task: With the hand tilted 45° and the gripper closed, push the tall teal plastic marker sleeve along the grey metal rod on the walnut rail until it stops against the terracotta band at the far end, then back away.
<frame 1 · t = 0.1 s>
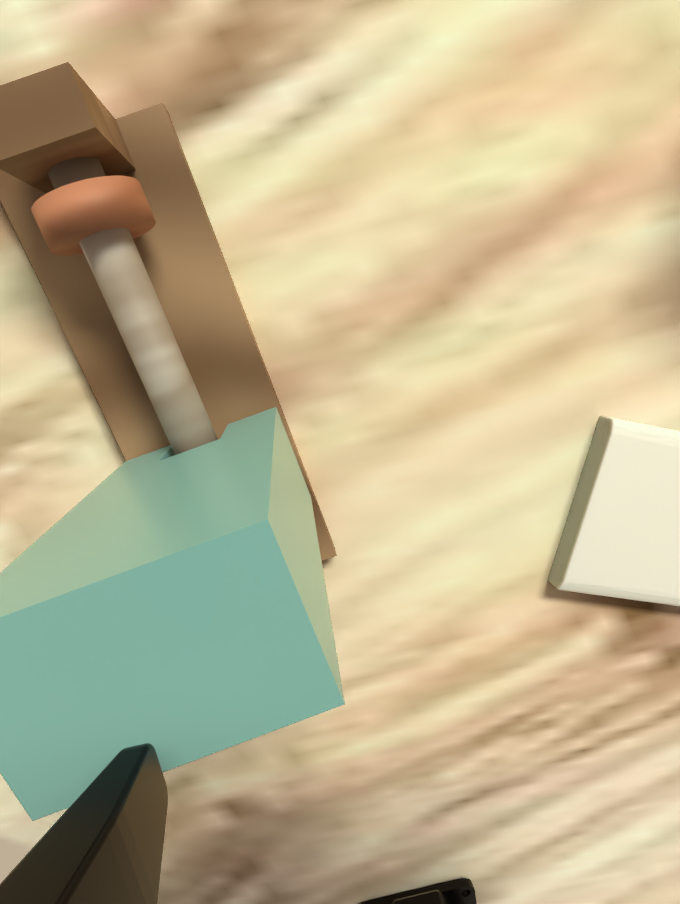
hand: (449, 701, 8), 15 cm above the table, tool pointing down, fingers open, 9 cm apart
external hard drive: (679, 516, 25), on the table
cord rail: (185, 382, 21), on the table
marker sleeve: (197, 540, 15), point 7 cm above the table, slide at 0.0 cm
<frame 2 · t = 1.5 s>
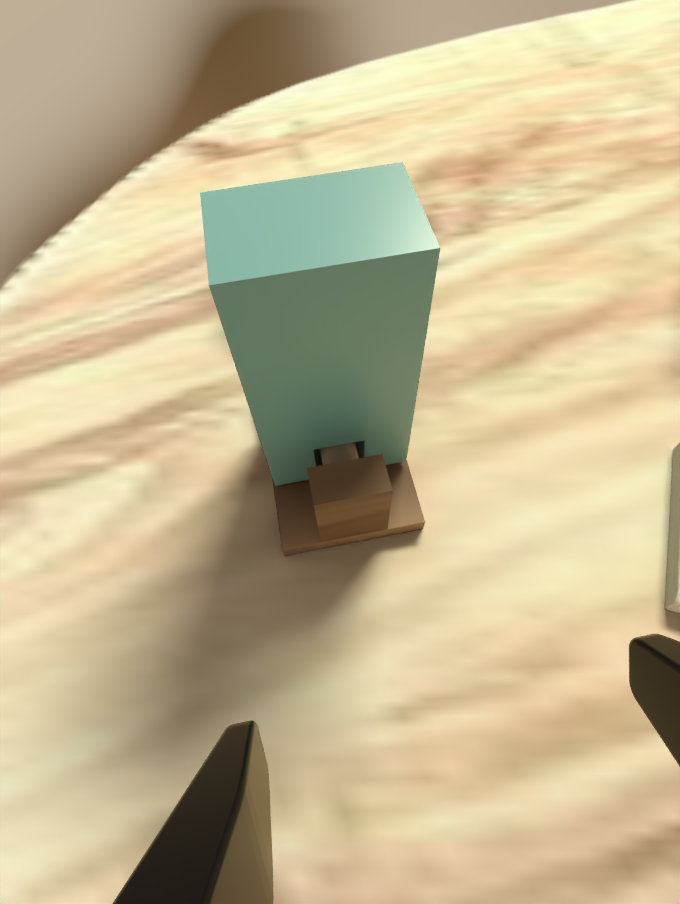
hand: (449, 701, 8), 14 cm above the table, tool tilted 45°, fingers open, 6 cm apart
cord rail: (320, 386, 28), on the table
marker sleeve: (326, 356, 20), point 7 cm above the table, slide at 0.0 cm
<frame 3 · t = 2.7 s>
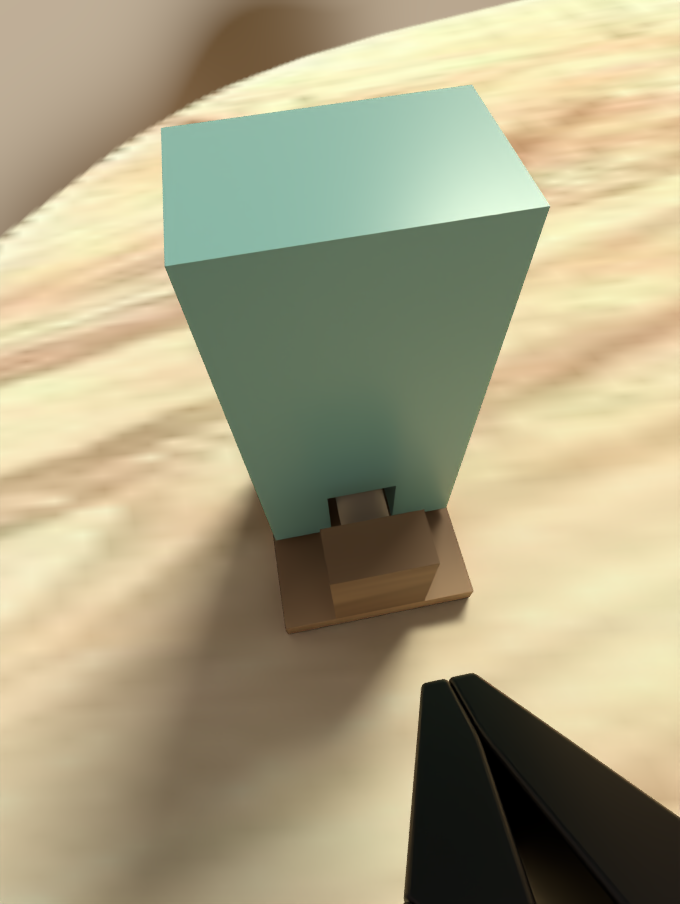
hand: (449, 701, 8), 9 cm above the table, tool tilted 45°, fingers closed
cord rail: (333, 407, 22), on the table
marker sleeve: (346, 375, 14), point 7 cm above the table, slide at 0.0 cm
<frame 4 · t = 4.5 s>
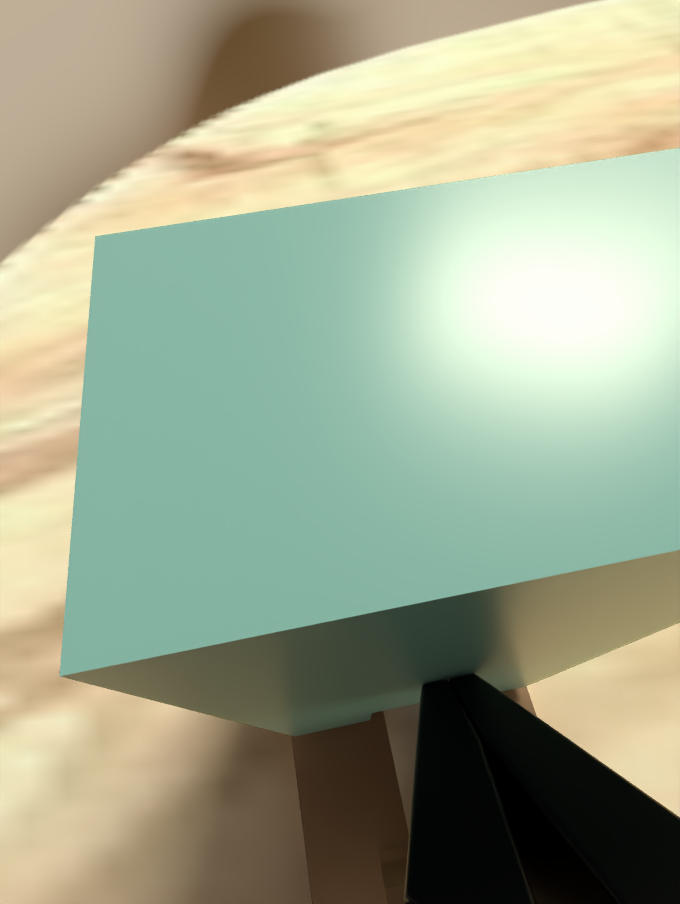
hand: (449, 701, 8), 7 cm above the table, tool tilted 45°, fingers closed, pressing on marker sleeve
cord rail: (371, 555, 17), on the table
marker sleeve: (410, 565, 9), point 7 cm above the table, slide at 1.3 cm, touching gripper
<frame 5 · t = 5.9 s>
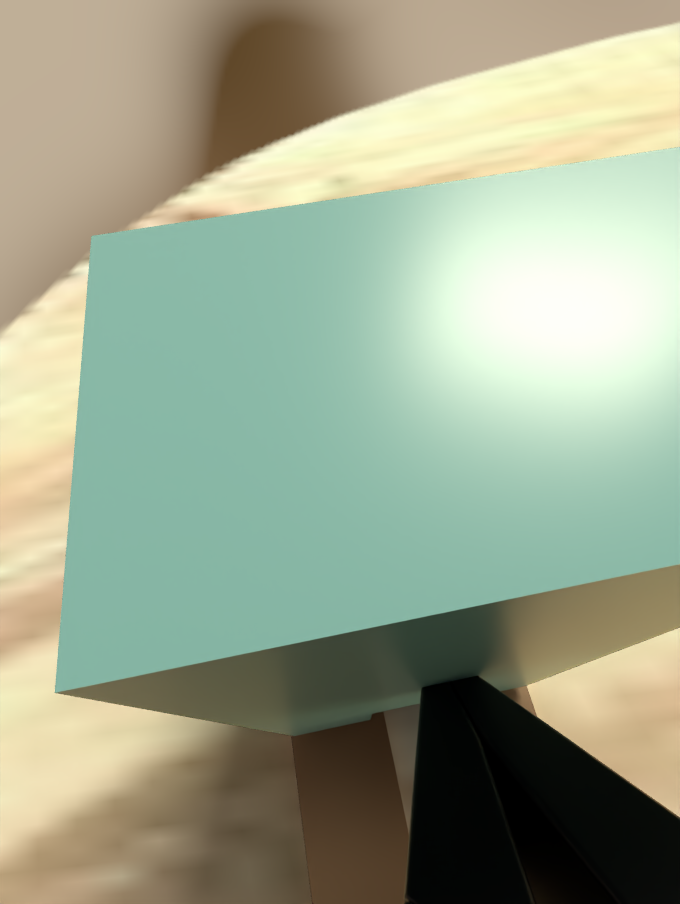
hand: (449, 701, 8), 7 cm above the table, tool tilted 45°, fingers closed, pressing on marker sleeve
cord rail: (420, 766, 14), on the table
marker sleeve: (411, 567, 9), point 7 cm above the table, slide at 7.3 cm, touching cord rail, gripper
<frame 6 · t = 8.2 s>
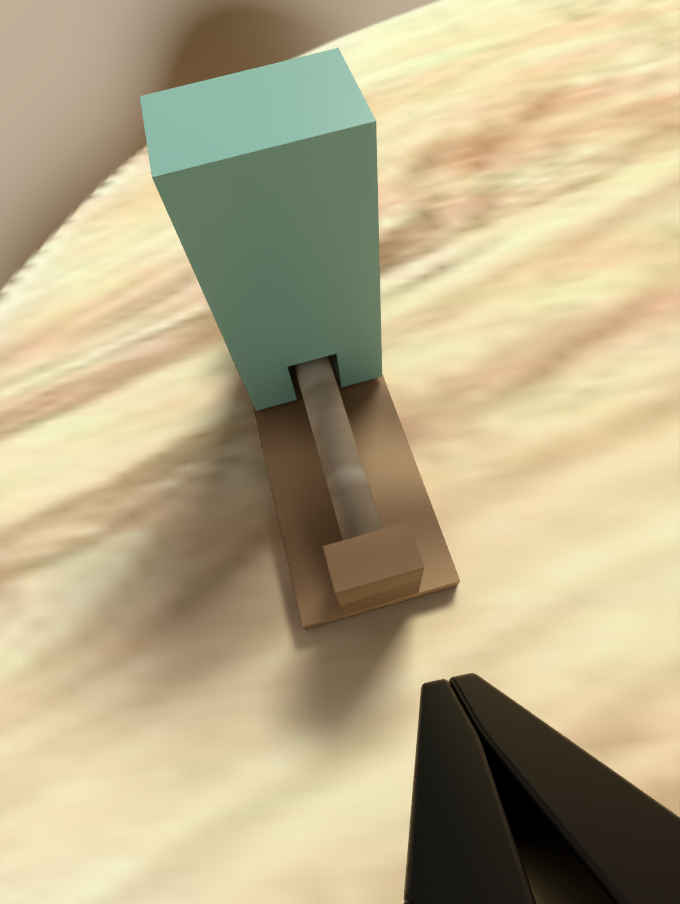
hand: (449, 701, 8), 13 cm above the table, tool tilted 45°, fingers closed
cord rail: (327, 423, 25), on the table
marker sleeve: (288, 267, 20), point 7 cm above the table, slide at 7.0 cm
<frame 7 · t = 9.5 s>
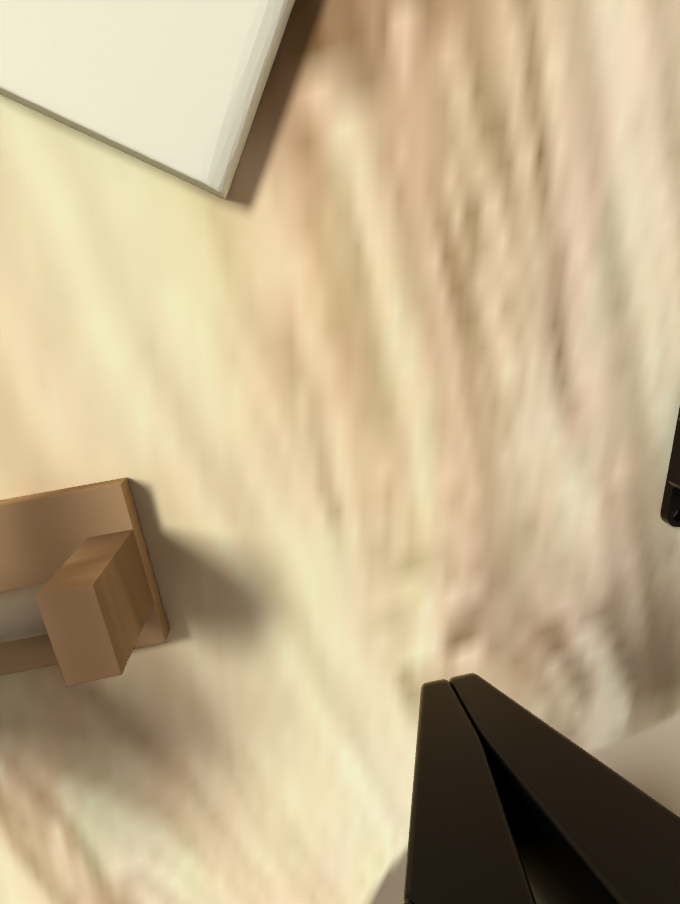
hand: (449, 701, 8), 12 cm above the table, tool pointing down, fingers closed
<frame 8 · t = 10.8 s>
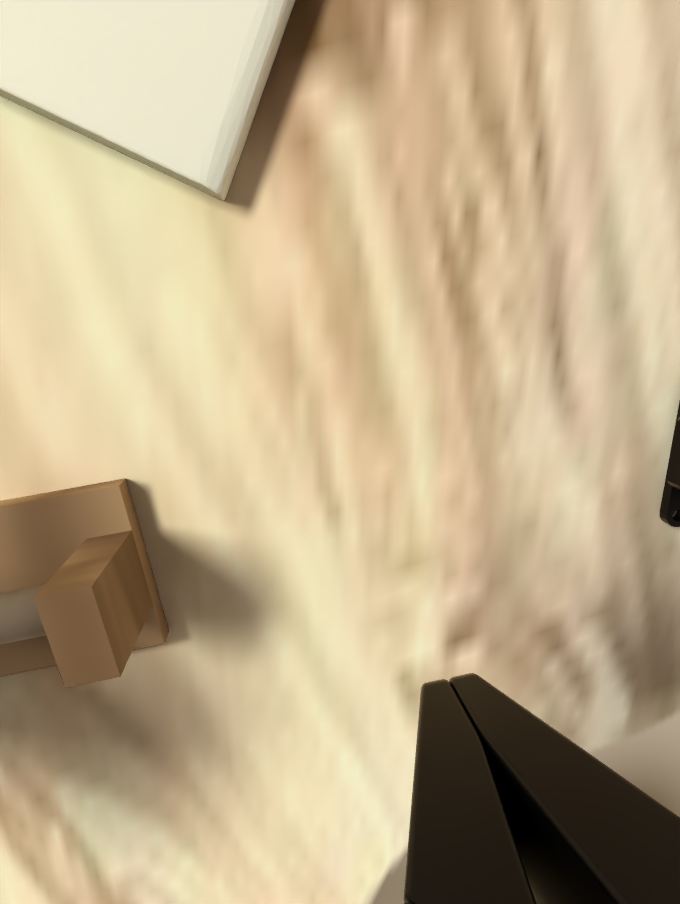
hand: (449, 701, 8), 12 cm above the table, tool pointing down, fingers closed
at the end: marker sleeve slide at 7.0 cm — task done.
